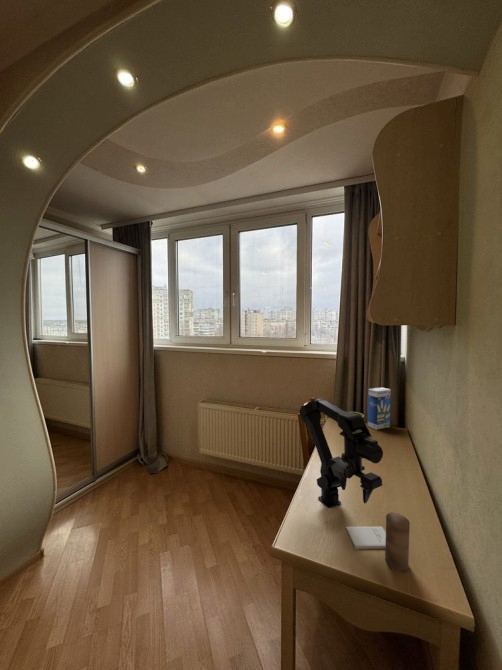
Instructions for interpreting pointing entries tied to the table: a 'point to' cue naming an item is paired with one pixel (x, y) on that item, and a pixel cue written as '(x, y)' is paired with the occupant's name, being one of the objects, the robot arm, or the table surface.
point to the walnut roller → (397, 542)
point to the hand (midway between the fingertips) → (354, 496)
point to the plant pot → (361, 416)
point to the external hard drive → (367, 537)
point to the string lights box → (379, 408)
